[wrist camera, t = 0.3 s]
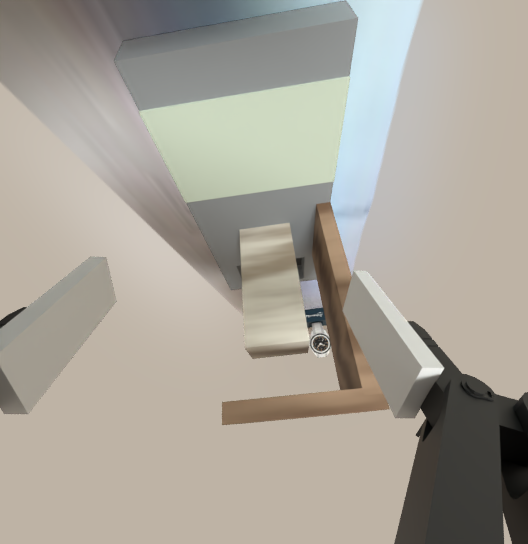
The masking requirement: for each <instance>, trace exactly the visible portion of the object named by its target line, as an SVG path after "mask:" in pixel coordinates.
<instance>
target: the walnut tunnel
mask: <svg viewBox="0 0 528 544" xmlns="http://www.w3.org/2000/svg"><path fill="white" fill-rule="evenodd" d="M312 257H313V262H314V267H315V272H316V276H317V281H318V286H319V291H320V295H321V300H322V305H323V310H324V314H325V319H326V324H327V329H328V333H329V338H330V343H331V348H332V352H333V357H334V362H335V367H336V372H337V376H338V381H339V386H340V390H339V391H329V392H319V393H309V394H299V395H289V396H279V397H270V398H260V399H250V400H239V401H230V402H222V425H230V424H242V423H254V422H264V421H275V420H285V419H296V418H306V417H317V416H327V415H338V414H348V413H359V412H367V411H377V410H386V409H389V405H388V402H387V400H386V398H385V396H384V394H383V392H382V390H381V388H380V386H379V384H378V382H377V380H376V378H375V376H374V374H373V372H372V370H371V368H370V366H369V364H368V362H367V359H366V357H365V355H364V353H363V351H362V349H361V347H360V345H359V343H358V341H357V339H356V337H355V335H354V333H353V331H352V329H351V327H350V325H349V323H348V321H347V319H346V317H345V315H344V313H343V311H342V310H343V307H344V303H345V300H346V296H347V293H348V289H349V285H350V282H351V278H352V276H351V273H350V269H349V266H348V262H347V259H346V255H345V252H344V248H343V245H342V241H341V238H340V234H339V231H338V227H337V224H336V221H335V217H334V214H333V210H332V207H331V203H330V202H327V203H320V204H316V214H315V225H314V236H313V247H312Z"/></svg>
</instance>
